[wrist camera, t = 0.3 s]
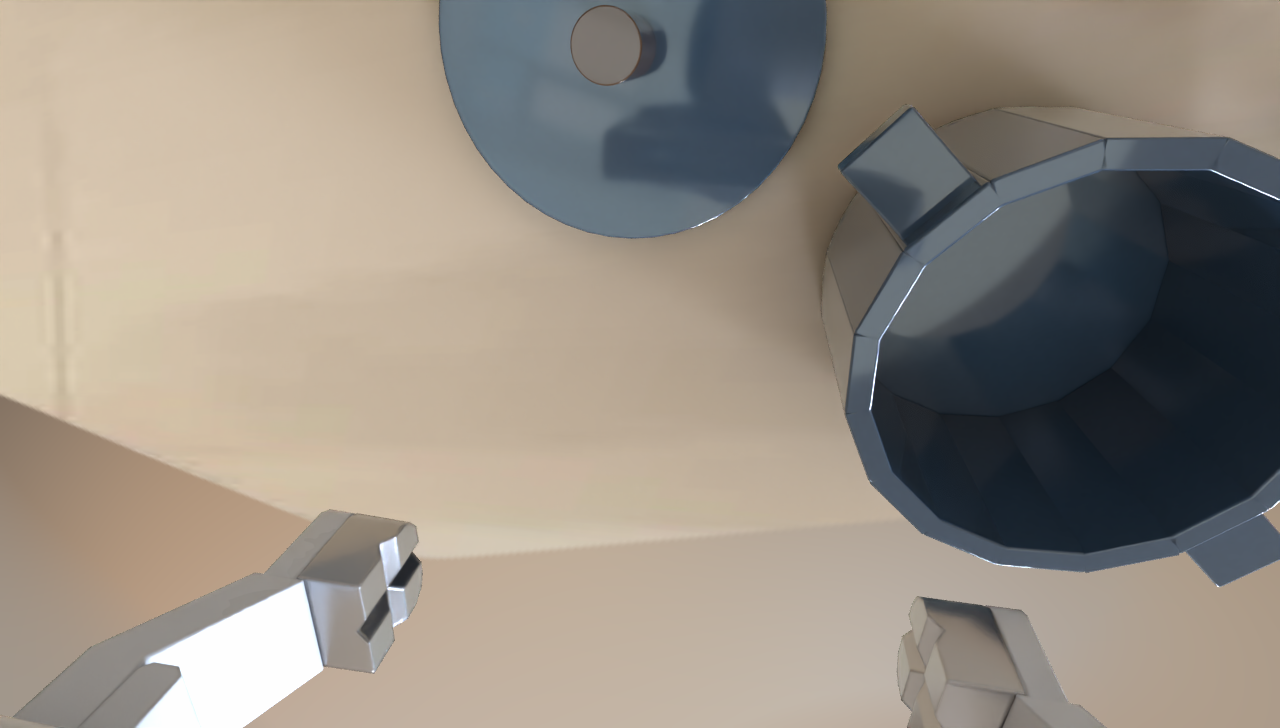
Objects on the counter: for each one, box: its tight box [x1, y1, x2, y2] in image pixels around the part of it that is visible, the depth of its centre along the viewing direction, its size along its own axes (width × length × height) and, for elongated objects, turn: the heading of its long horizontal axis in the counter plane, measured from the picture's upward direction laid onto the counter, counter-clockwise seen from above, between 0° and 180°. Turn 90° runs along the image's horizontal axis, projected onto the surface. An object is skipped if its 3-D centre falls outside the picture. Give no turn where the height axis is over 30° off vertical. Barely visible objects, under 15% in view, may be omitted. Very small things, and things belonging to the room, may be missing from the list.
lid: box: [439, 0, 827, 239], centre depth 24 cm, size 15×15×5 cm
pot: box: [821, 104, 1280, 587], centre depth 23 cm, size 14×19×10 cm
